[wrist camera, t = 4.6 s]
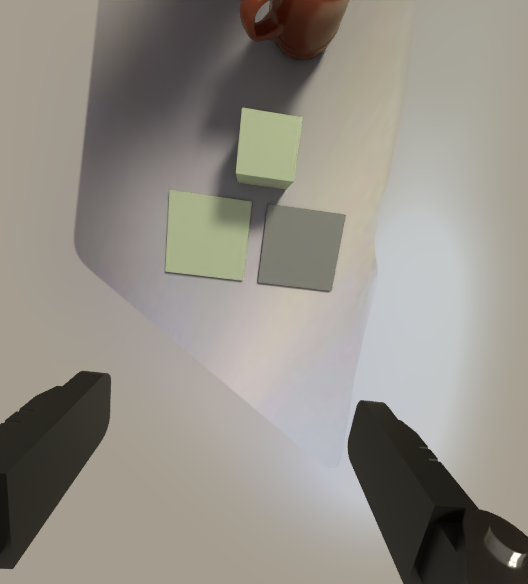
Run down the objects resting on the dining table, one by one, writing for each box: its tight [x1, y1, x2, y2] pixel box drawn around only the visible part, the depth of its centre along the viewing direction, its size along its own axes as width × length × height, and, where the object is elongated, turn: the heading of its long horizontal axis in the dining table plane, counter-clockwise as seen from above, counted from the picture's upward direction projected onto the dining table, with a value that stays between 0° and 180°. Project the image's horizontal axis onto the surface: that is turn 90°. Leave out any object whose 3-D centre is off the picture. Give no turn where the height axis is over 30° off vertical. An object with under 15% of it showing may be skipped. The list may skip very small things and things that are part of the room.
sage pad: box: [165, 190, 252, 281], centre depth 35 cm, size 10×10×1 cm
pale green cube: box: [236, 108, 303, 189], centre depth 30 cm, size 6×6×6 cm
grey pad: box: [258, 204, 346, 291], centre depth 36 cm, size 10×10×1 cm
